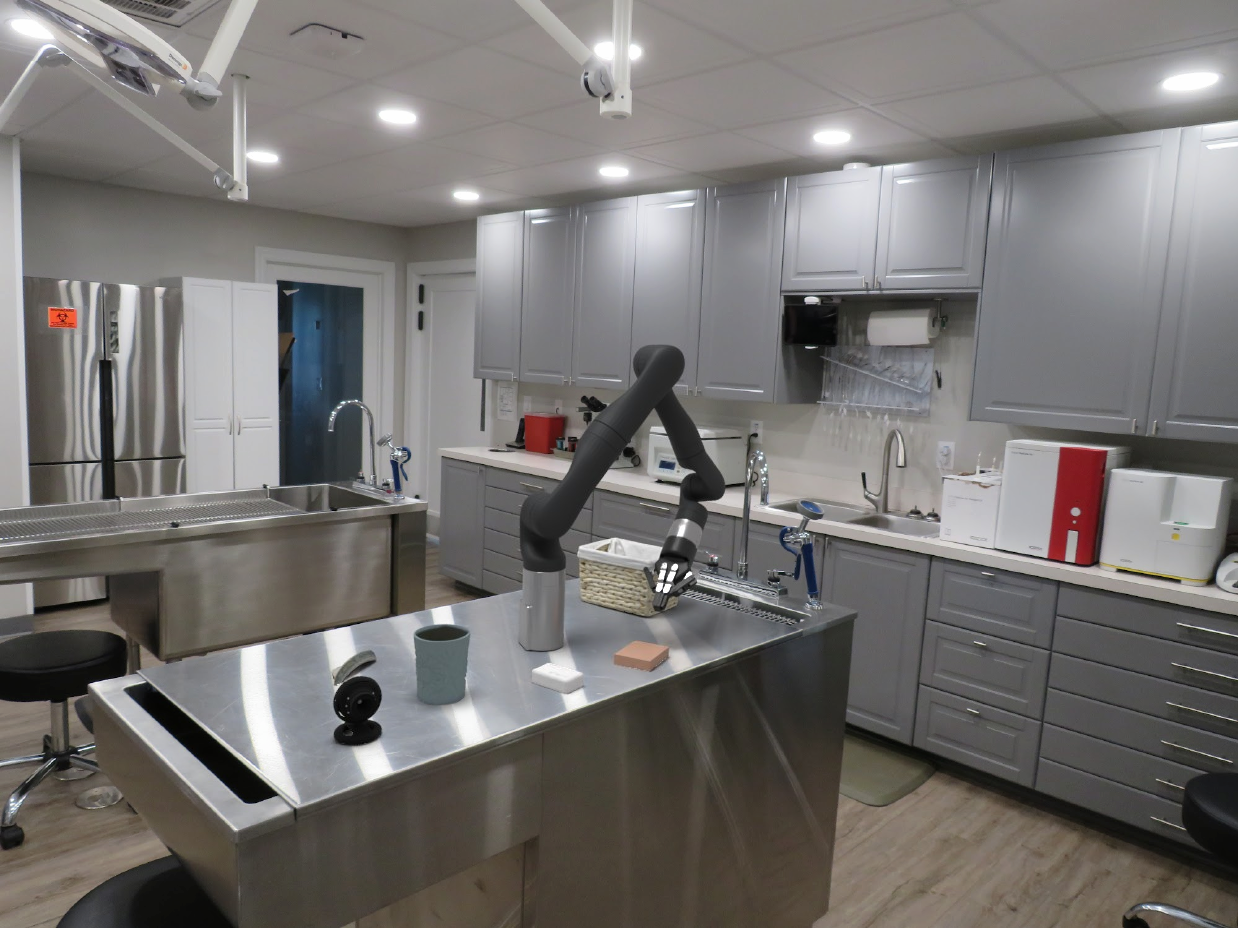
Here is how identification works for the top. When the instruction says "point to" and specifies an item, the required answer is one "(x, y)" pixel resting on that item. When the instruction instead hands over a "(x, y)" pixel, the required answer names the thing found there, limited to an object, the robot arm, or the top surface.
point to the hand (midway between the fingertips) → (657, 609)
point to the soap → (557, 678)
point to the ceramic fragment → (352, 665)
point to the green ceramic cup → (441, 663)
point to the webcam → (357, 710)
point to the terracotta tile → (641, 655)
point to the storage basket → (619, 575)
